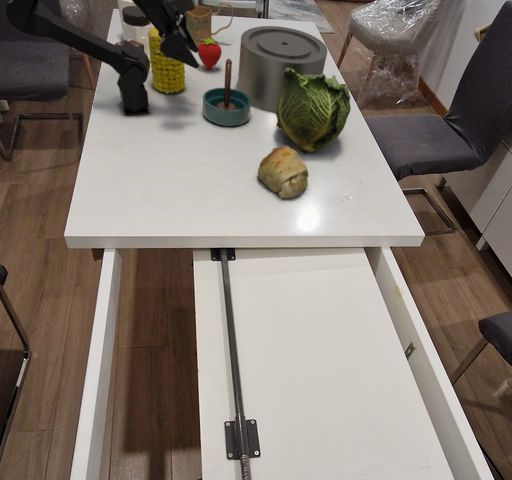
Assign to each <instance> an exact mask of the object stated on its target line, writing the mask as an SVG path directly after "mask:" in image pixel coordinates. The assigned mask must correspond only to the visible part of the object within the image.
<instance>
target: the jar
mask: <svg viewBox="0 0 512 480" xmlns="http://www.w3.org/2000/svg"><path fill="white" fill-rule="evenodd" d="M122 16H123V29H124V36H123V38H124V37H125V40H127V39H131V40H134V41H136V42H139V43H141V44H144V52H145V53H146V54H147V56H148V58H149V61H150V62H151V59H150V49H149V47H150V46H149V35H148V32H149V29H151V28H152V23H151V22H150V21H148V23H147V21H146V20H145V19H144V16H145V15H144V14H143V13H142V12H141V11H140V9H139V8H138V7H137V6H127V7H124V8H123V9H122Z"/></svg>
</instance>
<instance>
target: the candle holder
mask: <svg viewBox="0 0 512 480" xmlns="http://www.w3.org/2000/svg"><path fill="white" fill-rule="evenodd" d="M116 1H117V7H118V12H119V18H120V24H121V25H120V26H121V30H122V37H123V40H125V37H124V29H123V16H122V9H123V8H124V7H127V6H136V5H135V4H134V2H133V1H132V0H116Z"/></svg>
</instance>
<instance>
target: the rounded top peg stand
mask: <svg viewBox="0 0 512 480" xmlns="http://www.w3.org/2000/svg"><path fill="white" fill-rule="evenodd" d="M232 68H233V61H232V59H231V58H227V59H226V60H225V68H224V69H225V71H224V87H223V88H224V102H221V103H219V104H218V107H217V108H219V109H223V110H235V105H234V104H232V103H230V88H232V87H231V86H232V70H233V69H232Z"/></svg>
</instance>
